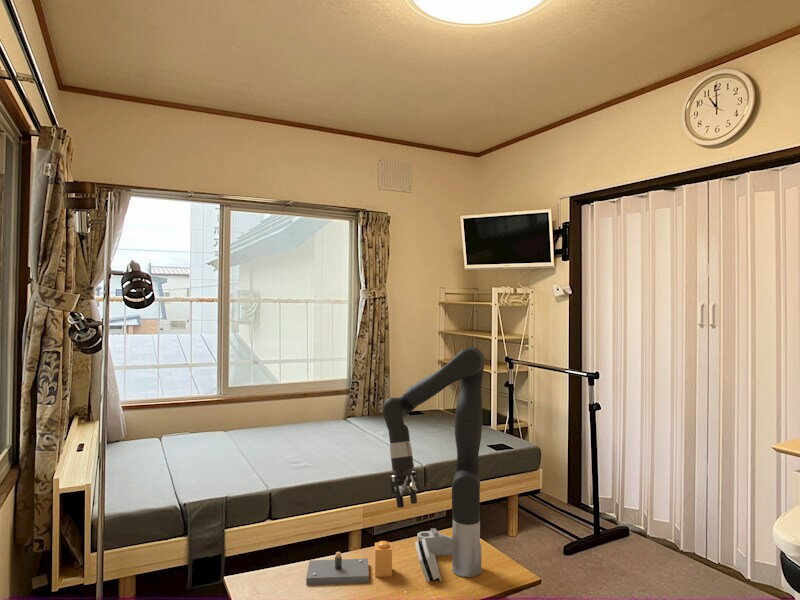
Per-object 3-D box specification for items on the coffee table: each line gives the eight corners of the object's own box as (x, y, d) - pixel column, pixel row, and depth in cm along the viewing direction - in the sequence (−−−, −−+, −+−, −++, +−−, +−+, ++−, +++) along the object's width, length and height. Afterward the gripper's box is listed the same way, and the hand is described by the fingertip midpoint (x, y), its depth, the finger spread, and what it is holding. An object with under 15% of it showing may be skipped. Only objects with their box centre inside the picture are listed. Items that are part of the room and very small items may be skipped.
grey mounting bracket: (467, 553, 193) (467, 531, 193) (419, 557, 190) (419, 535, 190) (462, 546, 199) (462, 525, 199) (415, 550, 195) (415, 528, 195)
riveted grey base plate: (367, 564, 184) (367, 543, 184) (368, 582, 172) (368, 560, 172) (309, 566, 183) (309, 545, 183) (306, 584, 171) (306, 562, 171)
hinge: (441, 581, 173) (431, 552, 173) (428, 587, 172) (417, 558, 172) (435, 557, 189) (426, 531, 189) (422, 562, 189) (413, 536, 189)
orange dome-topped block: (390, 568, 182) (390, 539, 182) (391, 576, 176) (392, 546, 176) (374, 568, 181) (374, 540, 181) (375, 576, 176) (375, 547, 176)
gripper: (399, 456, 176) (405, 508, 172) (421, 453, 188) (427, 501, 184) (381, 458, 180) (386, 509, 176) (403, 455, 192) (409, 502, 187)
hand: (407, 505), depth 180 cm, fingers open, 8 cm apart
